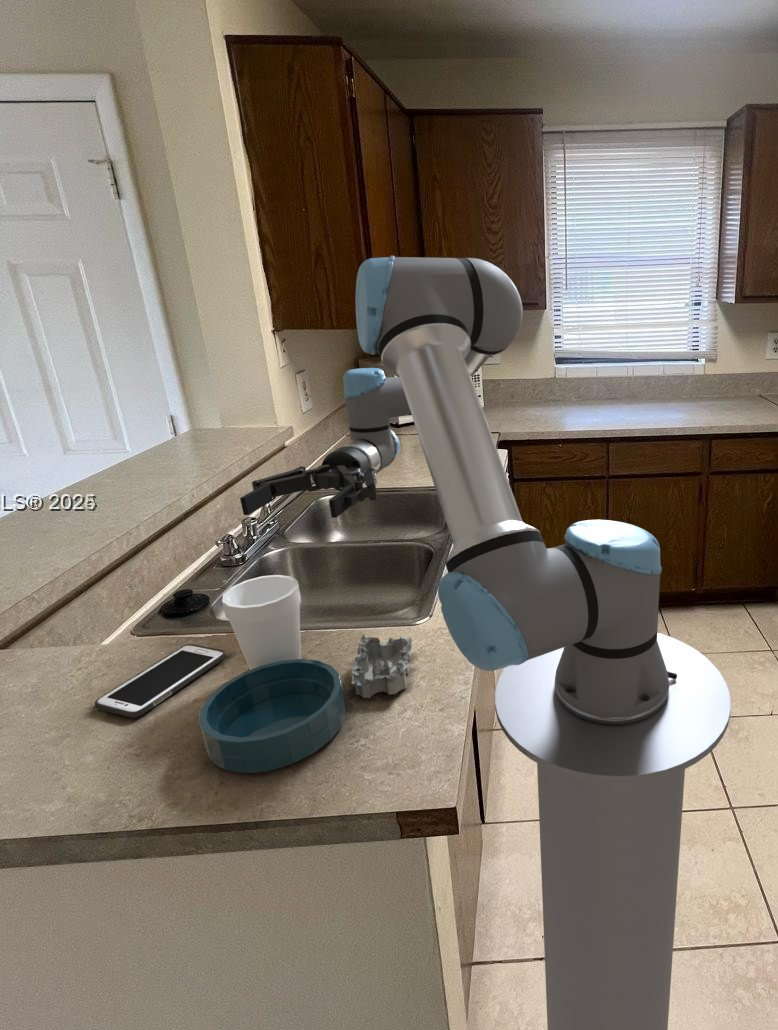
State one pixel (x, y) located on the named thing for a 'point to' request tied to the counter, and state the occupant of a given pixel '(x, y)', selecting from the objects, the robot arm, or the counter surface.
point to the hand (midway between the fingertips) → (287, 507)
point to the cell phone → (159, 680)
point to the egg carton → (381, 666)
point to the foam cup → (265, 618)
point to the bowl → (272, 715)
